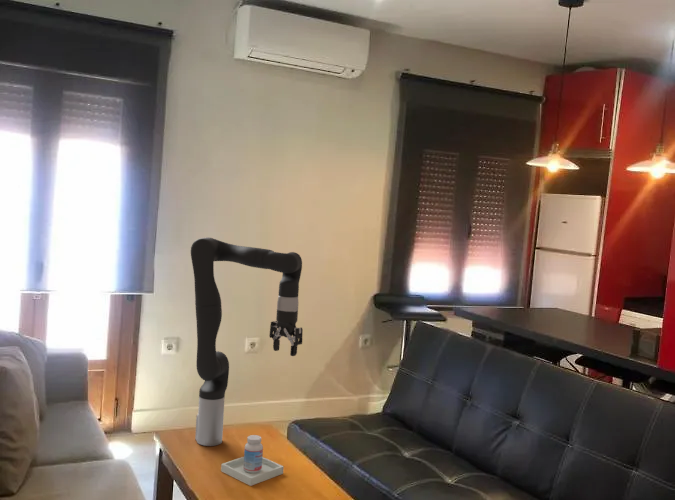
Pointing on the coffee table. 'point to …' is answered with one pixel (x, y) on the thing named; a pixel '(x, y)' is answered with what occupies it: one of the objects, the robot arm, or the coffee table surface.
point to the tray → (267, 472)
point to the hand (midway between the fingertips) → (284, 353)
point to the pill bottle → (253, 454)
